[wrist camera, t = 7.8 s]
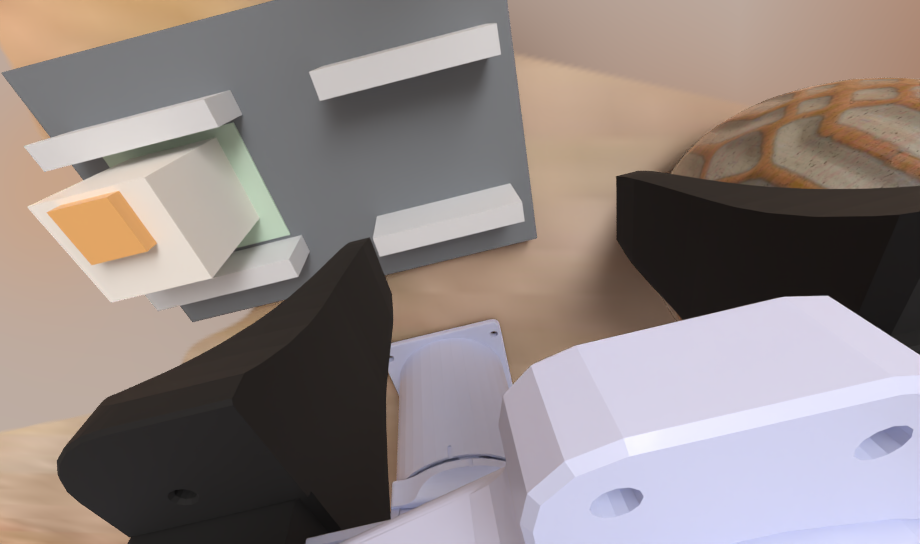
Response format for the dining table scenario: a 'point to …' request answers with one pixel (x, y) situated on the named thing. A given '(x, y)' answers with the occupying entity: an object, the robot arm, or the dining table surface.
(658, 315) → the dining table surface
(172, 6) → the dining table surface
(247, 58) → the panel
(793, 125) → the vase
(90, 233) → the plug
